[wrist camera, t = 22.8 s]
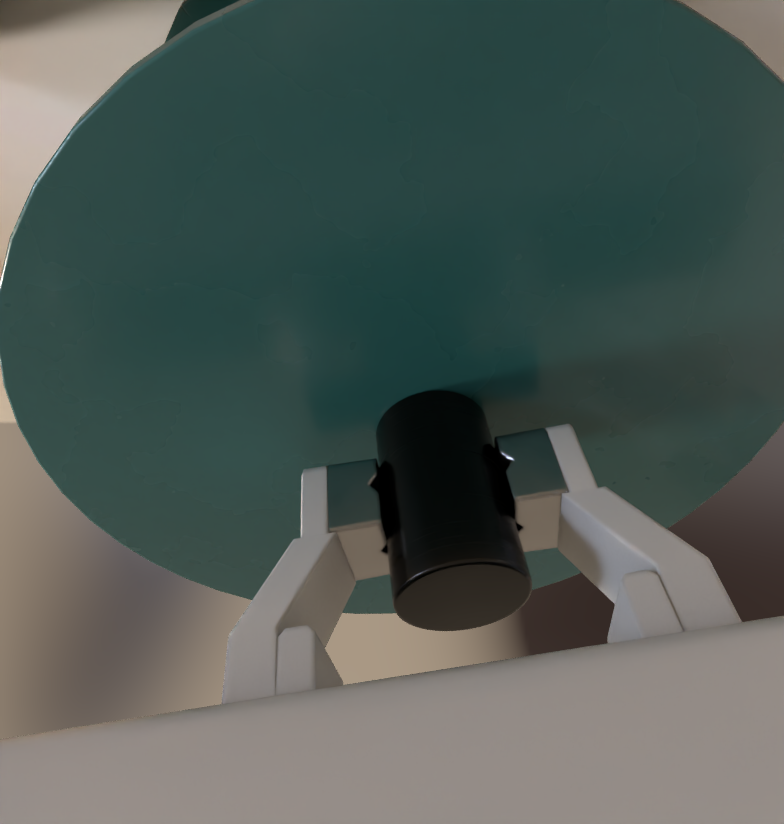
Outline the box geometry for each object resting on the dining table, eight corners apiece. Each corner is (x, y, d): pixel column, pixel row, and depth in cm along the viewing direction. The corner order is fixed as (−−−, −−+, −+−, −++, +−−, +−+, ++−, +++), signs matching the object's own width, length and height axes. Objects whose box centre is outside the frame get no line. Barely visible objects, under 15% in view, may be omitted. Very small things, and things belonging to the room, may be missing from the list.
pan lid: (995, -186, 8) (1579, -168, 4) (712, 533, 20) (802, 699, 16) (-237, 75, 9) (-632, 278, 5) (205, 616, 20) (182, 793, 17)
